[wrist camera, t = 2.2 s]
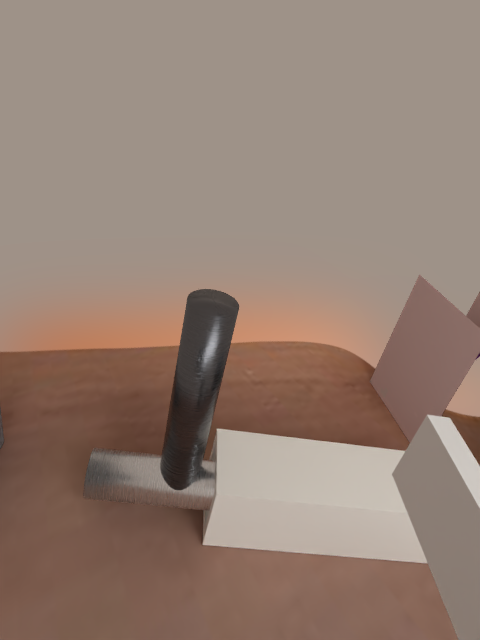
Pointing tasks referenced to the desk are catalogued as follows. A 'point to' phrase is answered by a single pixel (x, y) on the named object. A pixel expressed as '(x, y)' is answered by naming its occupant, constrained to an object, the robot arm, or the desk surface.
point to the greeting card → (426, 357)
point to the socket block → (1, 432)
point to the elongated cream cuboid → (308, 498)
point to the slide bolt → (177, 420)
